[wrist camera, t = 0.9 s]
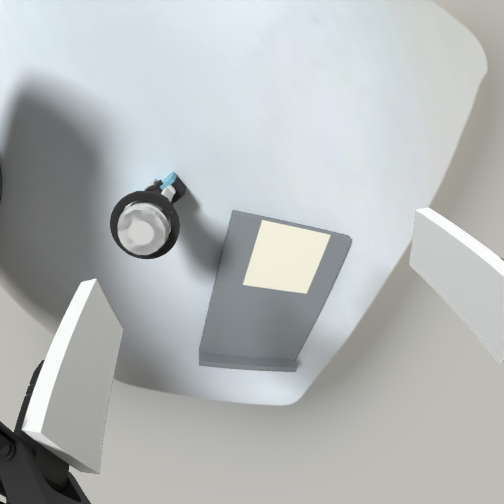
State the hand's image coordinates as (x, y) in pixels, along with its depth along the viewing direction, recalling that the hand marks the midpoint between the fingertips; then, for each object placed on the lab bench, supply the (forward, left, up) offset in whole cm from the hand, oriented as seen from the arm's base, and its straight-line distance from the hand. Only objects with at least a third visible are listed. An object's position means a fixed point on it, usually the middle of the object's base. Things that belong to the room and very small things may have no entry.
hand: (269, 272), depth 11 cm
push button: (-7, -5, -20) cm, 21 cm away
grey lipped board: (+8, -15, -20) cm, 26 cm away
